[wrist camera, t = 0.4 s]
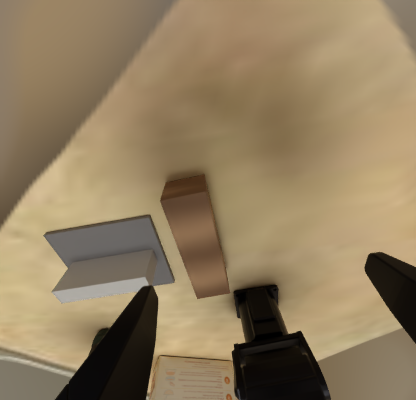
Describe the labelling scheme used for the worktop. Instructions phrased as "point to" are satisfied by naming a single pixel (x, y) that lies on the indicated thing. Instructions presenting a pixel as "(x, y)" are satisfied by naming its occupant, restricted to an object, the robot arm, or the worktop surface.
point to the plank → (196, 234)
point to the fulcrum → (109, 259)
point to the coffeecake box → (192, 379)
